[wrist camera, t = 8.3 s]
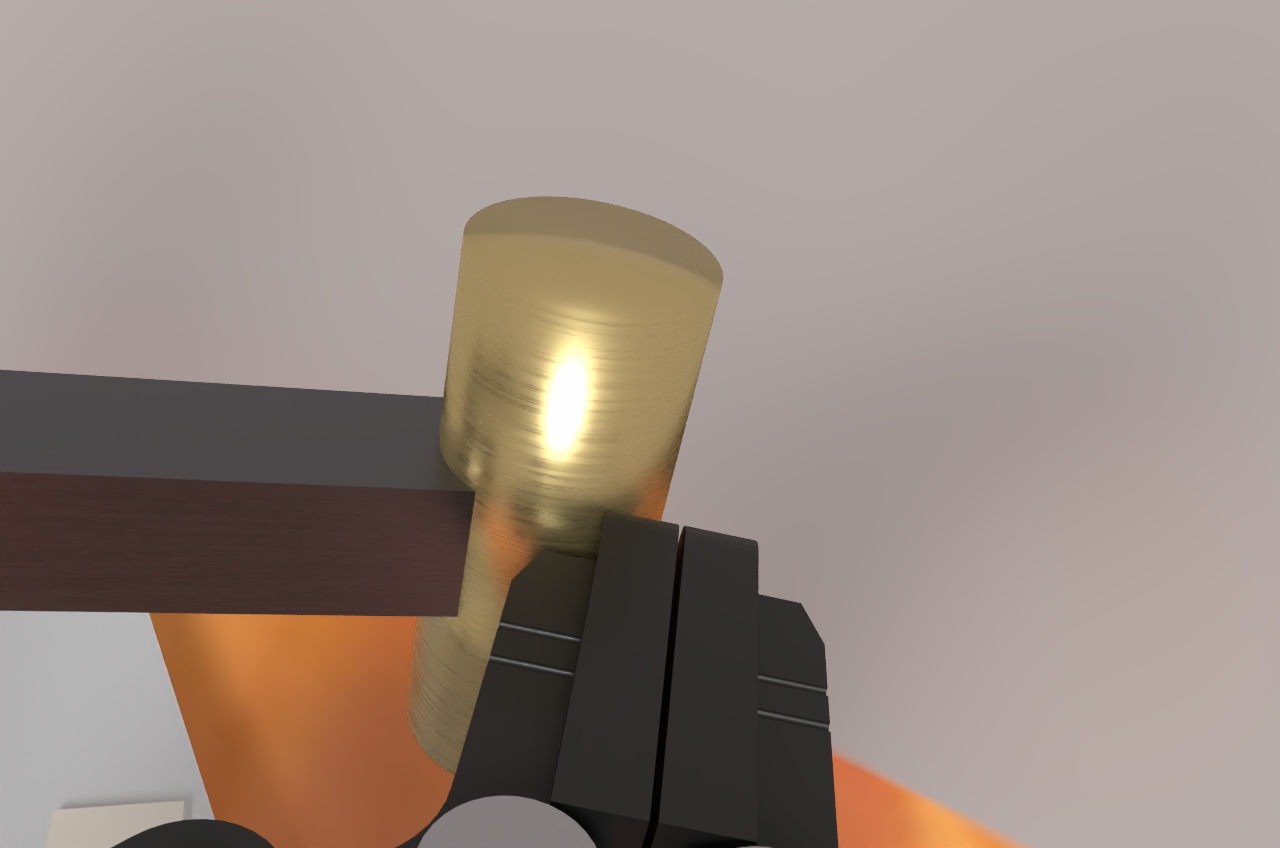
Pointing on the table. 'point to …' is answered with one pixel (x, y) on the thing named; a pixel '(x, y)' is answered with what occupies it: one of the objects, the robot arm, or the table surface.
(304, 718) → the table surface
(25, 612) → the stand
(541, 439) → the capstan
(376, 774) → the table surface
